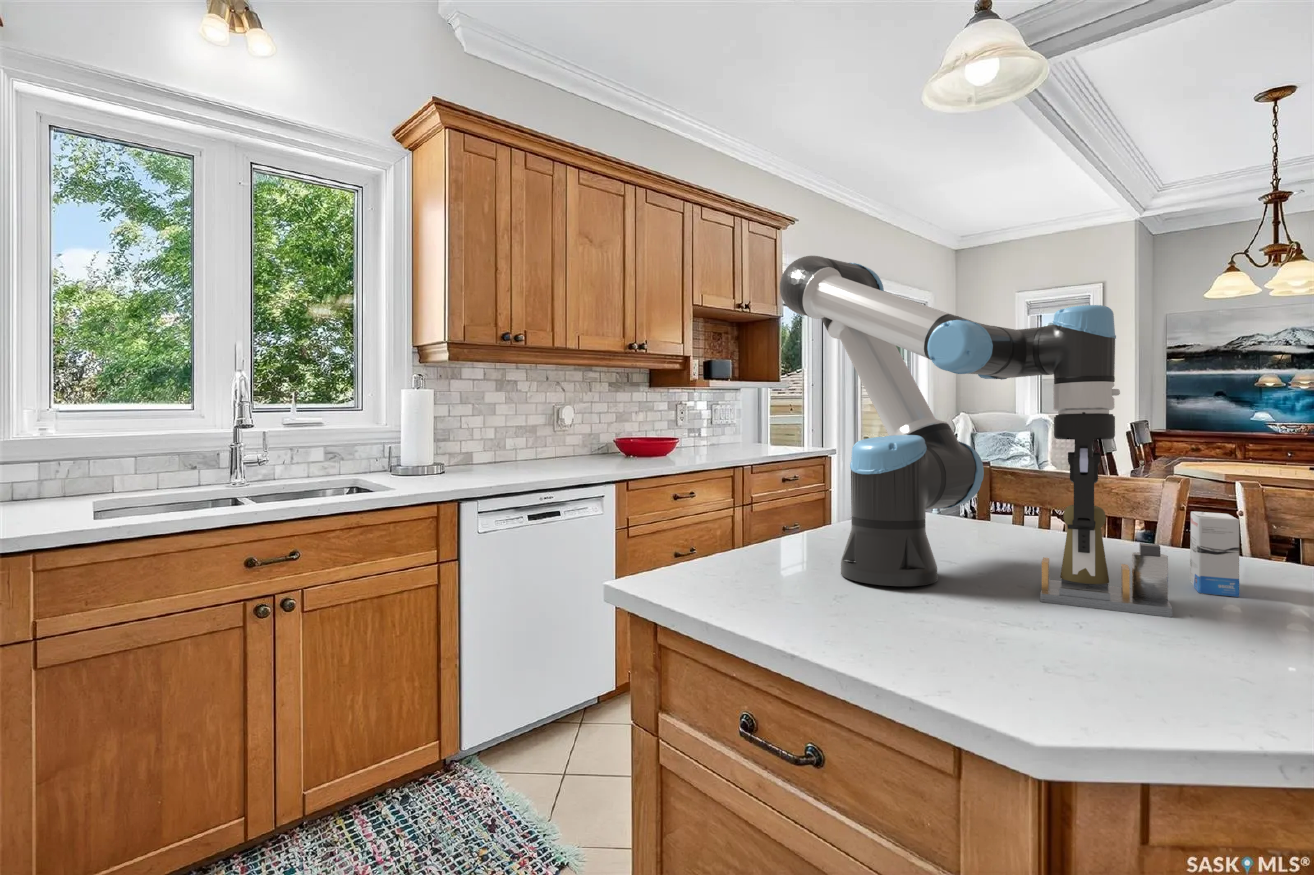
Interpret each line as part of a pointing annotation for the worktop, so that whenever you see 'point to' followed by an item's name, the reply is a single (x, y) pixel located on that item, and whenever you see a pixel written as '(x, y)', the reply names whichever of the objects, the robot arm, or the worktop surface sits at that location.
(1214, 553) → the ink box
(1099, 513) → the cork
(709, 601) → the worktop surface
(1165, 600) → the grey stand
